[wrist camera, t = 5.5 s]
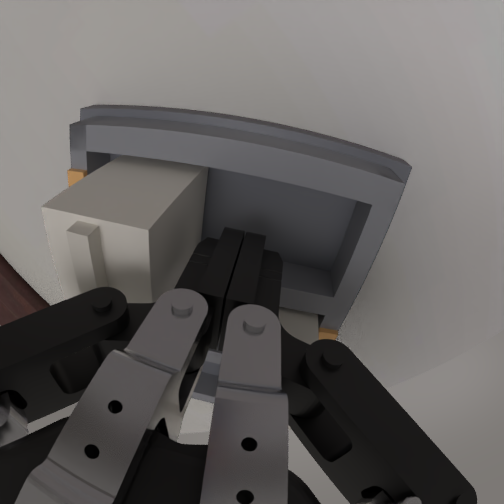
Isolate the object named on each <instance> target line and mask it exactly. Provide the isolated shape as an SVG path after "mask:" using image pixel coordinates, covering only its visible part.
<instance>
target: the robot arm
mask: <svg viewBox="0 0 504 504" xmlns="http://www.w3.org/2000/svg"><path fill="white" fill-rule="evenodd" d="M244 236H245V238H244ZM265 241H266V235H262V234H257V233H253V232H248V231H246V234H245V231H243V230H238V229H234V228H229V227H225V228H224V230H223V232H222V234H221V237H220V239H214V238H210V237H207V238H206V239H204V240H203V241H201V242H199V243H198V244H197V246H196V248H195V250H194V252H193V254H192V255H191V257H190V259H189V262H188V263H187V265H186V267H185V269H184V271H183V272H182V274H181V276H180V278H179V280H178V282H177V284H176V286H175V288H174V289H172V290H169V291H167V292H165V293H163V294H162V295H161V296H160V297H159V298H158V300H157V301H156V302H154V303H127V300H126V297H125V295H124V294H123V293H122V292H121V291H119V290H118V289H115V288H112V287H99V288H95V289H92V290H90V291H87V292H84V293H82V294H79V295H77V296H74V297H72V298H69V299H67V300H64V301H62V302H59V303H57V304H54V305H52V306H49V307H47V308H44V309H42V310H39V311H37V312H34V313H32V314H29V315H27V316H24V317H22V318H19V319H17V320H15V321H12V322H10V323H7V324H5V325H3V326H0V504H321V503H320V502H319V501H318V500H317V498H316V497H315V495H314V494H313V493H312V491H311V490H310V489H309V487H308V486H307V485H306V484H305V483H304V482H303V481H302V480H301V479H300V478H299V477H298V476H297V475H295V474H294V473H293V472H291V471H290V470H288V425H289V426H290V427H291V429H292V430H293V431H294V433H295V434H296V436H297V437H298V438H299V440H300V441H301V442H302V444H303V445H304V446H305V448H306V449H307V450H308V451H309V453H310V454H311V456H312V457H313V458H314V459H315V461H316V462H317V463H318V464H319V466H320V467H321V468H322V470H323V471H324V472H325V473H326V475H327V476H328V477H329V478H330V480H331V481H332V482H333V483H334V485H335V486H336V487H337V488H338V489H339V491H340V492H341V493H342V494H343V496H344V497H345V498H346V499H347V500H348V501H349V503H350V504H477V496H476V492H475V490H474V488H473V487H472V485H471V484H470V483H469V482H468V481H467V480H466V479H465V477H464V476H463V475H462V474H461V473H460V472H459V471H458V470H457V469H456V467H455V466H454V465H453V464H452V463H451V462H450V460H449V459H448V458H447V457H446V456H445V455H444V454H443V453H442V452H441V450H440V449H439V448H438V447H437V446H436V445H435V444H434V443H433V441H432V440H431V439H430V438H429V437H428V436H427V435H426V434H425V432H424V431H423V430H422V429H421V428H420V427H419V426H418V425H417V423H416V422H415V421H414V420H413V419H412V418H411V417H410V416H409V415H408V413H407V412H406V411H405V410H404V409H403V408H402V407H401V406H400V405H399V403H398V402H397V401H396V400H395V399H394V398H393V397H392V396H391V394H390V393H389V392H388V391H387V390H386V389H385V388H384V387H383V386H382V384H381V383H380V382H379V381H378V380H377V379H376V378H375V377H374V376H373V374H372V373H371V372H370V371H369V370H368V369H367V368H366V367H365V366H364V365H363V363H362V362H361V361H360V360H359V359H358V358H357V357H356V356H355V355H354V354H353V352H352V351H351V350H350V349H349V348H348V347H347V346H345V345H344V344H342V343H340V342H338V341H336V340H332V339H320V340H317V341H315V342H313V343H312V344H311V345H310V344H308V343H305V342H303V341H301V340H299V339H297V338H295V337H293V336H292V335H290V334H289V333H288V332H287V331H286V330H285V329H284V328H283V326H282V325H281V323H280V320H279V304H280V293H281V281H282V270H283V261H282V259H281V257H280V255H279V253H278V252H274V251H270V250H265V249H264V246H265ZM219 338H220V342H219ZM218 342H219V349H218V351H223V352H222V358H221V364H220V370H219V376H218V382H217V388H216V395H215V401H214V408H213V414H212V421H211V428H210V435H209V441H208V445H188V444H180V443H177V439H178V436H179V433H180V429H181V424H182V420H183V417H184V414H185V411H186V409H187V406H188V404H189V401H190V399H191V396H192V394H193V391H194V389H195V386H196V384H197V381H198V379H199V376H200V374H201V371H202V369H203V364H204V362H205V359H206V356H207V353H208V349H213V350H216V349H217V345H218ZM78 401H79V402H78ZM76 402H78V403H77V405H76V407H75V408H74V410H73V412H72V414H71V415H70V416H69V417H66V418H63V419H60V420H58V421H56V422H54V423H52V424H50V425H48V426H46V427H44V428H42V429H39V430H38V431H35V432H33V433H31V434H29V435H28V429H27V424H28V423H30V422H32V421H35V420H37V419H40V418H42V417H44V416H46V415H49V414H51V413H54V412H56V411H58V410H60V409H63V408H65V407H67V406H69V405H72V404H74V403H76Z"/></svg>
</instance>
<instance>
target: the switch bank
mask: <svg viewBox="0 0 504 504" xmlns="http://www.w3.org/2000/svg"><path fill="white" fill-rule="evenodd" d="M70 155H71V169H69V170H67V172H68V183H69V187H70V186H72V185H73V184H75V183H76V182H78V181H79V180H81V179H82V178H84V177H86V176H87V175H89V174H90V173H92V172H94V171H95V170H97V169H99V168H100V167H102V166H104V165H105V164H107V163H109V162H111V161H112V160H114V159H116V158H118V157H119V156H121V155H129V156H137V157H145V158H153V159H160V160H167V161H174V162H180V163H187V164H193V165H199V166H205V167H209V168H208V177H207V185H206V195H205V204H204V214H203V224H202V235H201V241H203V240H204V239H206V238H207V237H210V238H214V239H220V237H221V234H222V232H223V230H224V228H225V227H229V228H234V229H238V230H243V231H245V234H246V231H248V232H253V233H257V234H262V235H266V241H265V246H264V249H265V250H270V251H274V252H278V253H279V255H280V257H281V259H282V261H283V270H282V281H281V293H280V304H279V306H280V307H285V308H290V309H295V310H300V311H305V312H310V313H315V314H318V332H319V340H320V339H332V340H335V339H336V338H337V336H338V330H339V328H340V327H341V325H342V323H343V321H344V319H345V317H346V316H347V314H348V312H349V310H350V308H351V306H352V304H353V302H354V300H355V298H356V297H357V295H358V293H359V291H360V289H361V287H362V285H363V283H364V281H365V279H366V277H367V274H368V272H369V270H370V268H371V266H372V264H373V262H374V260H375V258H376V255H377V253H378V251H379V249H380V247H381V244H382V242H383V240H384V237H385V235H386V233H387V231H388V228H389V226H390V223H391V221H392V219H393V216H394V214H395V211H396V209H397V206H398V204H399V201H400V199H401V196H402V193H403V191H404V188H405V185H406V183H407V180H408V177H409V174H410V171H411V169H412V167H411V166H410V165H409V164H408V163H407V162H406V161H404V160H403V159H400V158H397V157H395V156H392V155H389V154H386V153H383V152H380V151H377V150H374V149H371V148H368V147H365V146H362V145H358V144H355V143H352V142H348V141H345V140H341V139H338V138H334V137H331V136H327V135H323V134H319V133H315V132H311V131H307V130H303V129H299V128H295V127H290V126H286V125H281V124H276V123H271V122H266V121H261V120H256V119H250V118H245V117H239V116H232V115H226V114H219V113H212V112H204V111H196V110H186V109H176V108H164V107H150V106H129V105H92V106H88V107H85V108H81V109H80V121H79V122H76V123H73V124H70ZM244 238H245V236H244ZM201 241H200V242H201ZM219 342H220V338H219ZM219 342H218V345H217V349H216V350H213V349H208V353H207V356H206V359H205V362H204V364H203V369H202V371H201V374H200V376H199V379H198V381H197V384H196V386H195V389H194V391H193V394H192V396H191V398H194V399H198V400H202V401H206V402H210V403H214V401H215V395H216V388H217V382H218V376H219V370H220V364H221V358H222V352H223V351H218V349H219Z"/></svg>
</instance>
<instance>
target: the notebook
mask: <svg viewBox="0 0 504 504" xmlns="http://www.w3.org/2000/svg"><path fill="white" fill-rule="evenodd" d="M49 306H50V305H49V304H48V303H47V302H46V301H45V300H44V299H43V298H42V297H41V296H40V295H39V294H38V293H37V292H36V291H35V290H34V289H33V288H32V287H31V286H30V285H29V284H28V283H27V282H26V281H25V280H24V279H23V278H22V277H21V276H20V275H19V274H18V273H17V272H16V271H15V270H14V269H13V267H12V266H11V265H10V264H9V263H8V262H7V261H6V260H5V259H4V257H3V256H2V255H1V254H0V325H1V326H3V325H5V324H7V323H10V322H12V321H15V320H17V319H19V318H22V317H24V316H27V315H29V314H32V313H34V312H37V311H39V310H42V309H44V308H47V307H49Z"/></svg>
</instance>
